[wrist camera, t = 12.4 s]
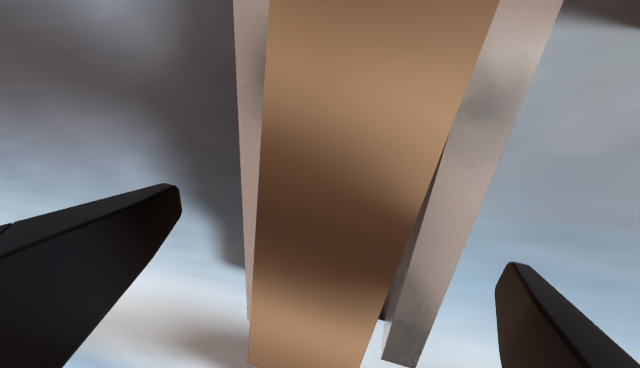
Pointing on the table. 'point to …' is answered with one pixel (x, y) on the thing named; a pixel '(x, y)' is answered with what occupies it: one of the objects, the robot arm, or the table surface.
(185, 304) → the table surface
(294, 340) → the tall wooden block
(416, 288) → the door track
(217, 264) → the table surface
